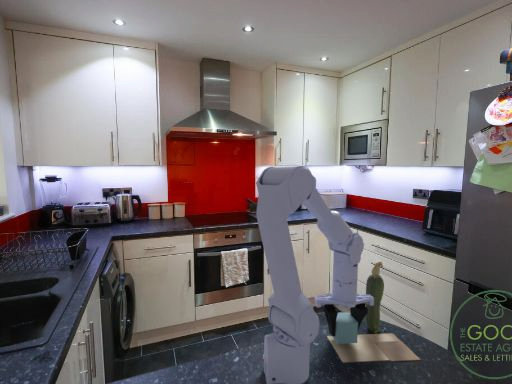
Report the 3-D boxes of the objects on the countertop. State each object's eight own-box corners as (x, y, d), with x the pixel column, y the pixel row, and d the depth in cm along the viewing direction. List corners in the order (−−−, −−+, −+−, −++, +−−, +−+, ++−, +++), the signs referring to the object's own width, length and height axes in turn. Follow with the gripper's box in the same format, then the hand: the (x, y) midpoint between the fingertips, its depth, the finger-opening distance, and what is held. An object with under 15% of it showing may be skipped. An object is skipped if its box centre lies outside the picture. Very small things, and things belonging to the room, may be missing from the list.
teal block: (337, 343, 64) (337, 323, 64) (329, 332, 69) (329, 312, 69) (357, 342, 64) (357, 322, 64) (348, 331, 69) (348, 312, 69)
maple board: (343, 369, 59) (343, 363, 59) (326, 340, 69) (326, 335, 69) (420, 365, 61) (420, 359, 61) (392, 337, 71) (392, 332, 71)
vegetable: (360, 330, 74) (363, 259, 73) (371, 327, 76) (374, 257, 75) (374, 339, 70) (377, 264, 69) (385, 335, 72) (388, 261, 71)
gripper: (322, 286, 61) (320, 344, 62) (382, 285, 63) (379, 341, 63) (312, 275, 68) (310, 327, 69) (366, 274, 70) (364, 325, 70)
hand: (342, 333), depth 67 cm, fingers closed on teal block, 5 cm apart
